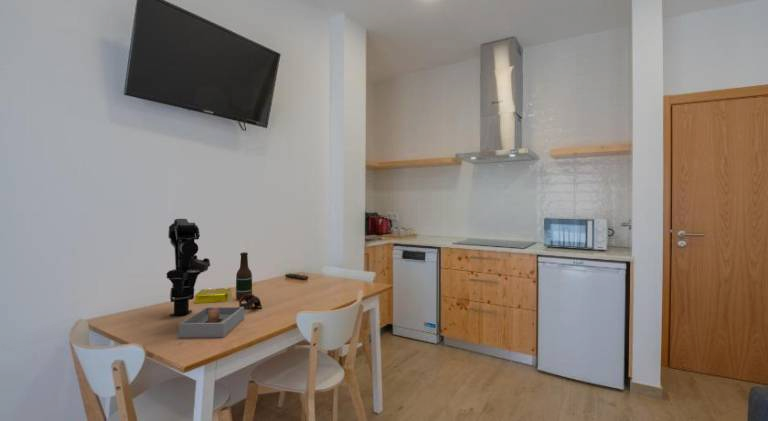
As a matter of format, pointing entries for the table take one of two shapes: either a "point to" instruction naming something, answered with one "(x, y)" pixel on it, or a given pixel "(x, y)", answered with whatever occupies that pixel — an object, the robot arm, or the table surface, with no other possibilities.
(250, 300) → the dark brown openwork arch
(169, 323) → the table surface
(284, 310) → the table surface
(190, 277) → the robot arm
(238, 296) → the beer bottle
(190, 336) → the socket box
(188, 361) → the table surface
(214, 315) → the peg
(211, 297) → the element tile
